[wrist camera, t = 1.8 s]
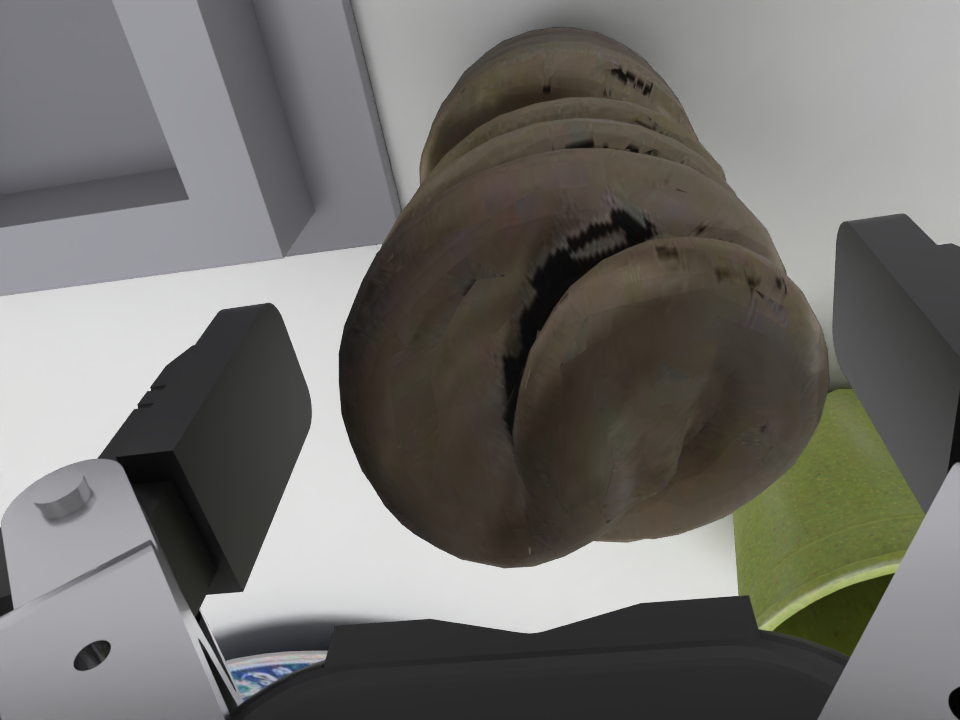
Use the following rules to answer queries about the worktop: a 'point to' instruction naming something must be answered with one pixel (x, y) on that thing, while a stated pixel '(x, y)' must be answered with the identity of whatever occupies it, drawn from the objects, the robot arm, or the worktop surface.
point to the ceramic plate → (268, 668)
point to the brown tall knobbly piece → (573, 320)
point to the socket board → (123, 130)
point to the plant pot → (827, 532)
